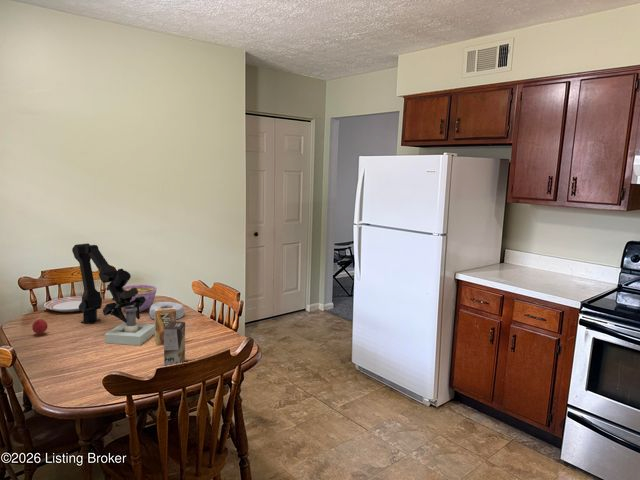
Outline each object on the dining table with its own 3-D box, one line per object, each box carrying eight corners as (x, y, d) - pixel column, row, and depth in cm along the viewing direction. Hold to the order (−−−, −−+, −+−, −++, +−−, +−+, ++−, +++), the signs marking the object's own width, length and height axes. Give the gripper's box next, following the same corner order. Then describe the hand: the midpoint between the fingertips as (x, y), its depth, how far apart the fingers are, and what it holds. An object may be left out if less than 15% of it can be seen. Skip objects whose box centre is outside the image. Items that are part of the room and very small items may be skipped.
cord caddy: (123, 330, 211) (123, 322, 210) (155, 332, 210) (155, 324, 209) (104, 342, 195) (104, 334, 194) (139, 345, 194) (139, 336, 193)
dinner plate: (50, 302, 250) (50, 296, 250) (103, 299, 260) (103, 293, 259) (38, 317, 225) (38, 310, 224) (98, 313, 235) (98, 307, 234)
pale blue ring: (151, 312, 241) (150, 301, 240) (184, 310, 246) (184, 300, 245) (148, 322, 224) (147, 311, 223) (183, 320, 229) (183, 309, 228)
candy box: (175, 339, 203) (174, 307, 201) (176, 342, 199) (176, 309, 197) (154, 341, 199) (154, 308, 197) (155, 344, 195) (155, 311, 193)
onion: (40, 337, 198) (39, 320, 197) (29, 336, 199) (28, 319, 198) (50, 333, 203) (49, 316, 202) (40, 331, 204) (39, 315, 203)
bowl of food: (123, 304, 251) (122, 284, 249) (159, 304, 254) (159, 284, 253) (113, 315, 231) (112, 294, 230) (153, 315, 235) (153, 294, 233)
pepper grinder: (123, 336, 203) (122, 307, 201) (137, 334, 206) (136, 305, 204) (125, 340, 198) (124, 310, 196) (139, 338, 201) (138, 309, 199)
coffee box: (180, 368, 173) (180, 329, 171) (163, 368, 173) (163, 328, 170) (185, 358, 182) (185, 321, 180) (169, 358, 182) (169, 321, 179)
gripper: (105, 286, 193) (120, 316, 189) (143, 279, 209) (158, 306, 204) (96, 300, 199) (110, 329, 194) (133, 292, 214) (147, 319, 209)
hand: (132, 320), depth 200 cm, fingers open, 6 cm apart
